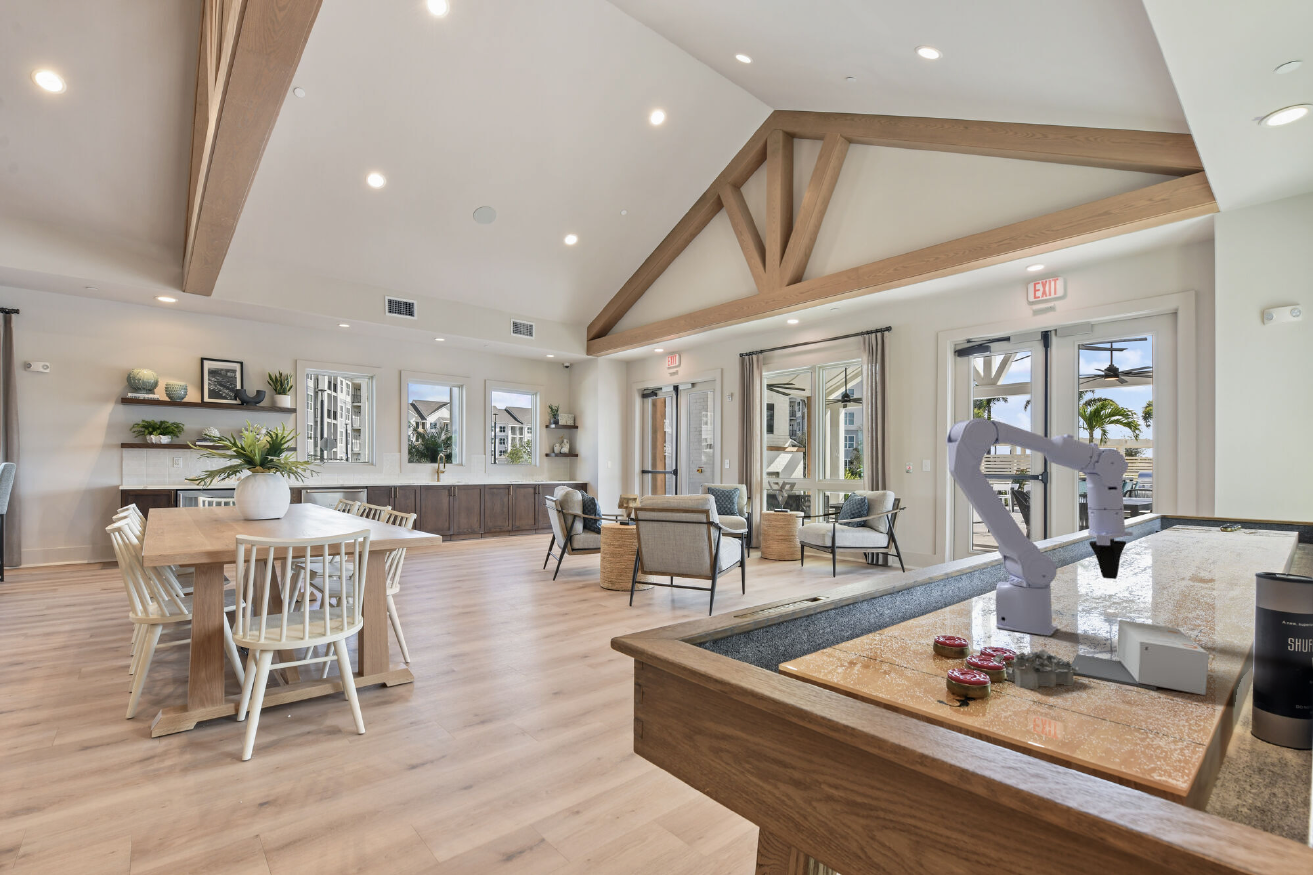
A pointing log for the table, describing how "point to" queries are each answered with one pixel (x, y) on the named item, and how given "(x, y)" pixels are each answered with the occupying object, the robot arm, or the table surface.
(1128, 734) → the table surface
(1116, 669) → the mat
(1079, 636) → the table surface
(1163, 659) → the small box
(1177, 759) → the table surface
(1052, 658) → the egg carton
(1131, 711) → the table surface
